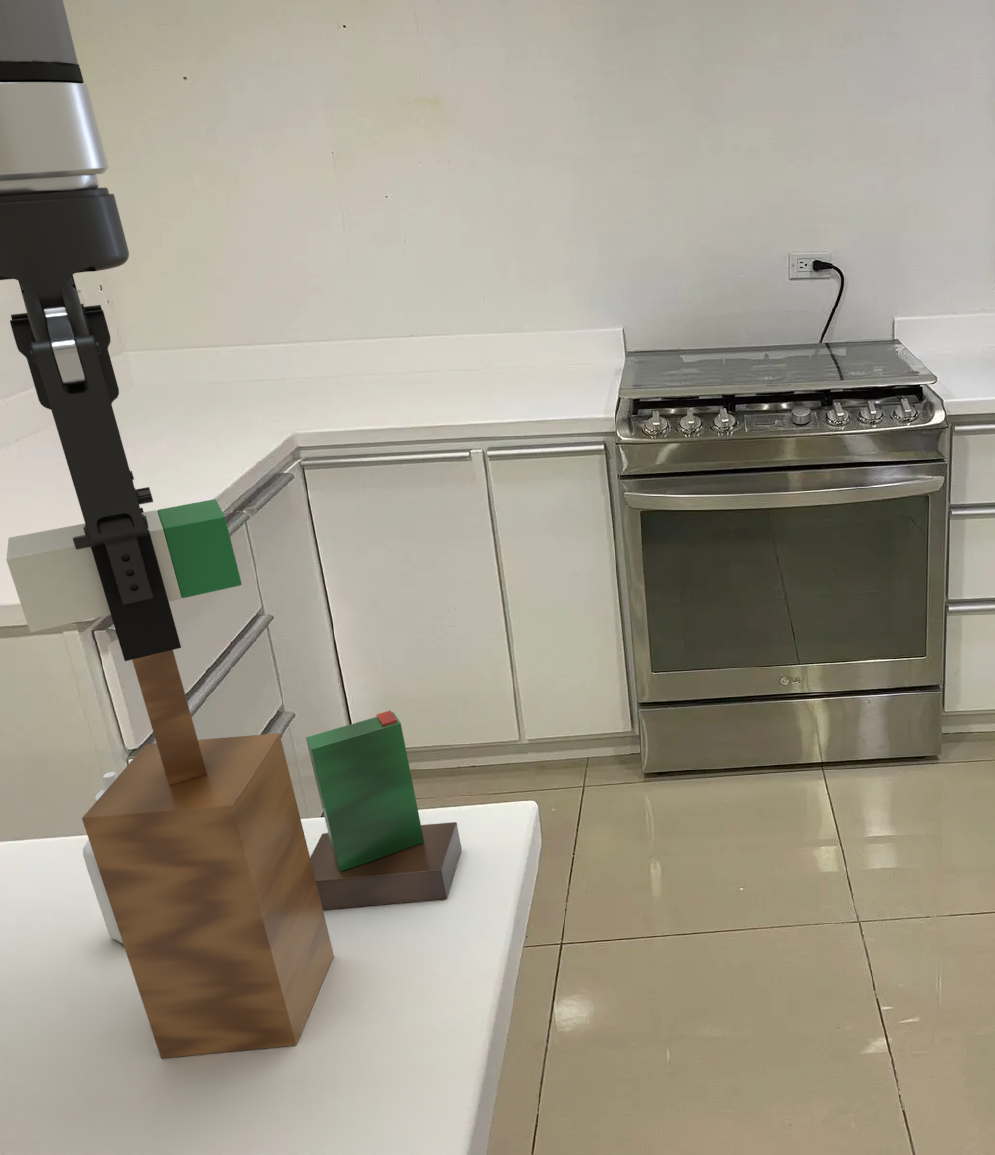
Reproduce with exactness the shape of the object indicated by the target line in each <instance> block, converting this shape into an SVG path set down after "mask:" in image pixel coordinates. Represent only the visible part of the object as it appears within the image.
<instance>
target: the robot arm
mask: <svg viewBox="0 0 995 1155" xmlns="http://www.w3.org/2000/svg"><path fill="white" fill-rule="evenodd" d="M80 66H81V65H80V64H79V61H78V57H77V54H76V49H75V44H74V41H73V36H72V32H71V28H70V25H69V19H68V16H67V12H66V7H65V2H64V0H0V281H4V280H5V281H7V280H16V281H18V284H19V289H20V292H21V296H22V300H23V302H24V307H25V310H26V312H23V313H21V312H20V313H14V314H10V317H11V319H10V320H9V323H10V329H11V331H12V335H13V338H14V342H15V345H16V349H17V350H18V352H19V353H20V354H21V355H22V356H24V357H25V359H26V361H27V364H28V368H29V372H30V375H31V378H32V381H33V385H34V389H35V392H36V395H37V399H38V402H39V403H40V405H41V406H42V407H44V408H45V409H48V410H51V414H52V416H53V420H54V423H55V424H54V425H55V428H56V430H57V434H58V436H59V440H60V444H61V447H62V450H63V454H64V457H65V460H66V463H67V467H68V470H69V473H70V478H71V480H72V485H73V487H74V490H75V494H76V497H77V501H78V504H79V507H80V511H81V514H82V518H83V521H84V524H86V525H85V527H83V529H84V532H85V535H82V536H76V537H73V541H74V545H75V548H76V550H78V549H83V548H88V547H91V549H92V553H93V556H94V559H95V563H96V566H97V569H98V573H99V576H100V580H101V583H102V586H103V590H104V593H105V596H106V600H107V603H108V607H109V610H110V613H111V615H110V616H111V619H112V620H111V621H112V623H113V626H114V630H115V634H116V636H117V640H118V644H119V647H120V650H121V653H122V656H123V660H124V662H128V661H132V660H133V659H137V658H141V657H145V656H149V655H153V654H157V653H162V652H166V651H170V650H173V651H174V650H178V649H181V648H182V645H181V641H180V637H179V634H178V631H177V626H176V623H175V620H174V616H173V612H172V609H171V605H170V601H168V597H167V594H166V590H165V586H164V583H163V579H162V576H161V572H160V568H159V565H158V561H157V557H156V554H155V550H154V546H153V543H152V539H151V535H150V532H149V530H148V522H147V518H146V515H145V516H144V514H142V513H143V512H145V510H144V508H143V507H141V506H140V505H145V504H150V503H154V499H153V498H154V497H153V495H152V492H151V489H150V488H151V487H150V486H147V487H142V488H136V487H135V484H134V480H135V478H134V474H133V471H132V470H131V469H130V467H129V462H128V459H127V455H126V452H125V448H124V444H123V441H122V438H121V433H120V430H119V427H118V423H117V420H116V415H115V412H114V408H113V405H112V404H113V402H114V401H116V400H117V399H118V397H119V395H120V388H119V385H118V382H117V376H116V374H115V370H114V367H113V364H112V359H111V355H110V352H109V346H110V344H111V333H110V330H109V326H108V322H107V319H106V316H105V312H104V309H102V305H101V304H96V305H95V304H94V305H87V306H84V303H81V299H80V296H79V293H78V289H77V285H76V281H75V278H74V274H78V273H79V274H80V273H90V272H91V273H92V272H99V271H106V270H111V269H115V268H118V267H121V266H123V265H124V264H126V262H128V260H129V257H130V250H129V248H128V244H127V243H128V242H127V239H126V235H125V232H124V227H123V224H122V220H121V215H120V212H119V209H118V204H117V201H116V197H115V196H116V195H115V194H114V193H110V191H109V188H108V187H99V186H100V185H99V180H98V178H97V175H103V174H105V173H106V172H107V170H108V169H109V164H108V160H107V155H106V152H105V147H104V145H103V141H102V137H101V134H100V130H99V125H98V122H97V118H96V114H95V110H94V107H93V103H92V98H91V95H90V91H89V86H88V84H87V83H85V81H84V77H83V74H82V69H81V68H80Z"/></svg>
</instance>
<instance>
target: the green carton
mask: <svg viewBox="0 0 995 1155" xmlns="http://www.w3.org/2000/svg"><path fill="white" fill-rule="evenodd" d="M305 740H306V746H307V750H308V753H309V757H310V762H311V766H312V770H313V773H314V779H315V784H316V787H317V792H318V795H319V801H320V804H321V808H322V812H323V817H324V822H325V825H326V826H325V827H326V830H327V833H328V834H329V839H330V843H331V847H332V851H333V856H334V859H335V861H336V864H337V866H338V868H339V870H340V872H341V871H344V870H347V869H350V868H353V867H356V866H358V865H361V864H364V863H367V862H370V861H373V860H376V859H378V858H381V857H384V856H387V855H390V854H393V853H396V852H398V851H401V850H404V849H407V848H410V847H413V846H416V845H418V844H421V843H424V838H423V833H422V828H421V825H422V823H421V819H420V814H419V808H418V803H417V797H416V793H415V788H414V783H413V778H412V773H411V767H410V762H409V757H408V752H407V747H406V743H405V738H404V733H403V727H402V723H401V721H400V719H399V718H398V716H397V715H396V714H395V712H392V711H391V710H387V711H384V712H380V713H377V714H376V716H374V717H371V718H368V719H365V720H361V721H357V722H353V723H351V724H347V725H343V726H340V727H337V728H333V729H331V730H327V731H323V732H319V733H316V734H313V735H310V736H306V737H305Z"/></svg>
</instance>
